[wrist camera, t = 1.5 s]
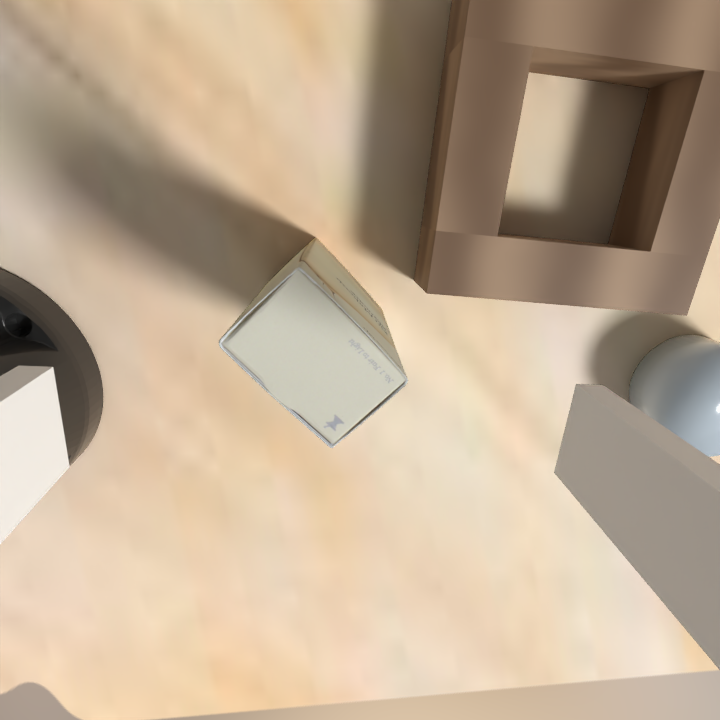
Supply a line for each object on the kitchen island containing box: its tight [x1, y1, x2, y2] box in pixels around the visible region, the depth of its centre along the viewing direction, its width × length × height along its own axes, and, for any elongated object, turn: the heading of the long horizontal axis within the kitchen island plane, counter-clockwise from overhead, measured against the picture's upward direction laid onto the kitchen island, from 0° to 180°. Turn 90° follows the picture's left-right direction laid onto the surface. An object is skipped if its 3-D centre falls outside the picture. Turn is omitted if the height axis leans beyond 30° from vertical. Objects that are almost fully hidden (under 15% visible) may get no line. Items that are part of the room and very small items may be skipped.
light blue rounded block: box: [629, 335, 720, 457], centre depth 30 cm, size 7×7×4 cm
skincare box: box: [219, 238, 408, 448], centre depth 23 cm, size 6×4×12 cm
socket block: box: [414, 0, 720, 315], centre depth 25 cm, size 15×15×4 cm
